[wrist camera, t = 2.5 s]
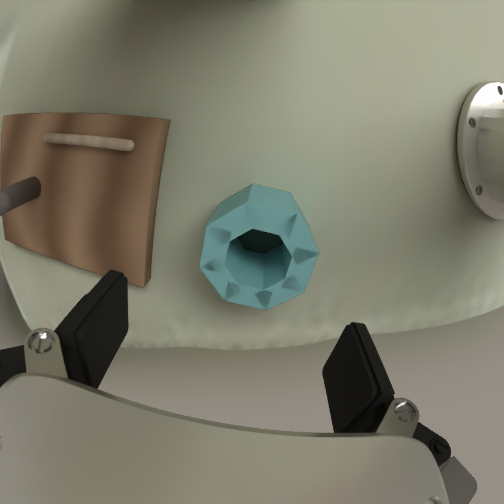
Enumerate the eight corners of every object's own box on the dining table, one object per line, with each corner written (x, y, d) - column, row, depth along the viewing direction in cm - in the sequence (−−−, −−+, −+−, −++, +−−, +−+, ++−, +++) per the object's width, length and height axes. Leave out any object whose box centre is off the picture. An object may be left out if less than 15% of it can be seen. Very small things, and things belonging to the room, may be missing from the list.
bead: (315, 199, 19) (330, 222, 15) (290, 277, 22) (294, 316, 17) (226, 177, 19) (212, 192, 14) (209, 258, 22) (194, 293, 17)
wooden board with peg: (170, 120, 17) (78, 120, 8) (150, 278, 23) (92, 366, 13) (13, 114, 17) (-69, 131, 7) (13, 234, 22) (-51, 280, 12)
